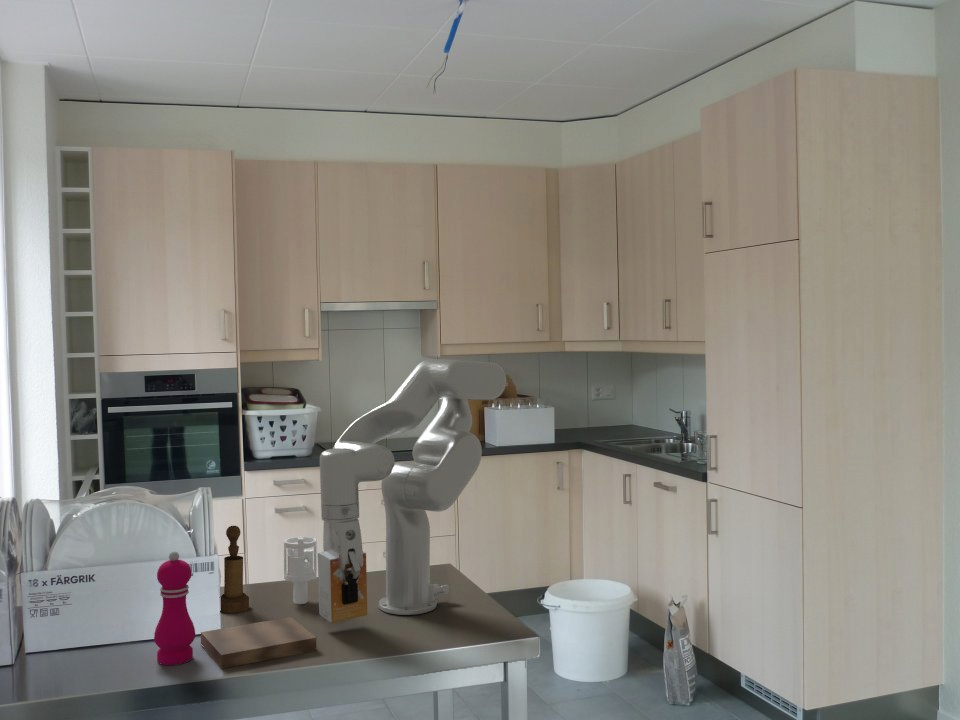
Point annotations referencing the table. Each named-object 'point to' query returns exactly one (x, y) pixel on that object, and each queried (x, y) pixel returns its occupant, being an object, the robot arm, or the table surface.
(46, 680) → the table surface
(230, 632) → the walnut board
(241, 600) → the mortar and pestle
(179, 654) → the pepper mill
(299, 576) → the white slotted cylindrical holder
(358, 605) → the small box
